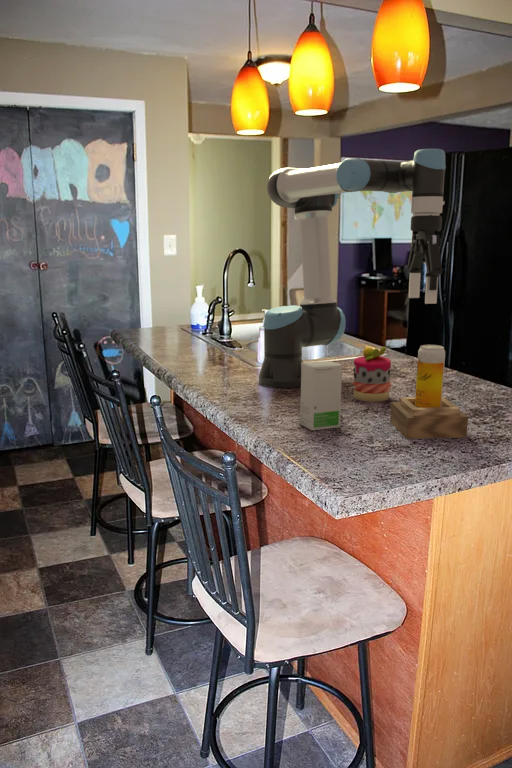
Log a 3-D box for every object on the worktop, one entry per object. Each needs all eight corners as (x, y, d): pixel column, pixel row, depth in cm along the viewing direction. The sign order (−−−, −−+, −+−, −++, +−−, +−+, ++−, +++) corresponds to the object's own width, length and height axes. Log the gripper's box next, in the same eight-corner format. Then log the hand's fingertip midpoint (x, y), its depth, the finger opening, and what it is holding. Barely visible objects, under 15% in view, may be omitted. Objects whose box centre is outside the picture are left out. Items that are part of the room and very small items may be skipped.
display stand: (406, 439, 150) (408, 411, 149) (390, 421, 164) (391, 396, 162) (466, 437, 151) (468, 410, 150) (445, 420, 165) (446, 394, 163)
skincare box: (311, 431, 156) (312, 367, 152) (298, 424, 162) (299, 362, 158) (341, 427, 159) (343, 364, 156) (328, 420, 165) (329, 359, 162)
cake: (345, 397, 186) (346, 345, 183) (364, 390, 194) (366, 340, 191) (378, 404, 180) (380, 350, 176) (396, 396, 188) (399, 344, 184)
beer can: (412, 405, 159) (416, 344, 156) (437, 405, 159) (442, 344, 156) (417, 412, 154) (421, 349, 150) (443, 412, 153) (448, 349, 150)
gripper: (460, 213, 152) (453, 306, 157) (425, 215, 176) (421, 295, 181) (428, 214, 151) (423, 306, 156) (397, 215, 175) (394, 295, 180)
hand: (421, 300), depth 168 cm, fingers open, 13 cm apart
